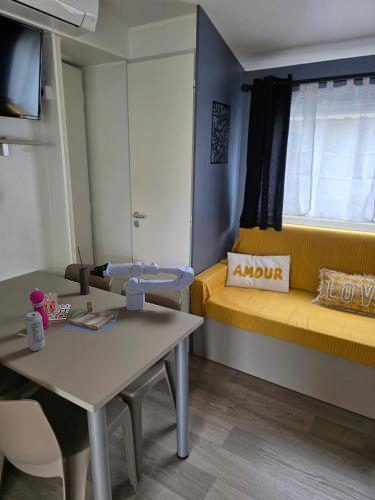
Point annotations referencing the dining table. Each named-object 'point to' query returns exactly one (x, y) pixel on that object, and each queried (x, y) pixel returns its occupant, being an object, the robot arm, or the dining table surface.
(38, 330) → the energy drink can
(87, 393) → the dining table surface
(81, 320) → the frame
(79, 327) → the board
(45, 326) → the pepper mill
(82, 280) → the butter churn
